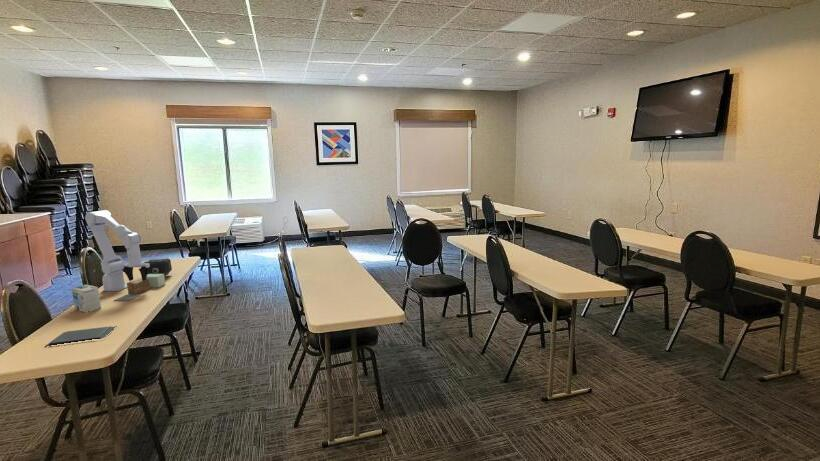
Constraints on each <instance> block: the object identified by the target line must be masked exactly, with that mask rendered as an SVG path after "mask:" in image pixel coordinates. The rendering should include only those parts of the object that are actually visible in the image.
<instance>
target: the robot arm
mask: <svg viewBox="0 0 820 461" xmlns="http://www.w3.org/2000/svg"><path fill="white" fill-rule="evenodd" d="M84 218H85V221H86V224H87V226H88V228H89V229H90V230H91V232H92V235H93V237H94V239H95V242H96V244H97V246H98V248H99V250H100V252H101V254H102V257H103V259H102V260H101V261H100V265H101V271H102V272H103V276H102V278H101V279H102V287H103V290H102V292H103V291H104V292H113V291H114V292H119V291H121V290H124V289H128V288H127V285H126V283H125V277H124V274H125V275H126V277H127V279H128V281H129V282H131V281H133V280H134V268H138V271H139V273H140V275H141V278H142V280H143V281H145V280H146V279H147V273H148V270H149V268H150V264H149V263H144V262H142V257H141V249H140V244H139V243H141V241H142V238H141V235H140V234H139V233H138V232H134V231H131V230H130V229H129V228H128V227H127V226H125V225H123V224H119V223H118V222H117V221H116V220H115V219H114V218H113V217H112V213H111V212H110V211H109V210H107V209H103V210H97V211H88V212H87V213H85V217H84ZM106 226H108V227H110V229H113V231H114V232H113V233H114V234H115V235H116V236H117V237H119V238H120V239H122V240H121V241H122V243H123V245H124V248H125V249H126V254H127V259H128V260H127V262H128V263H127V262H125V261H124V260H123V258H122V256H120V255H117V254H116V253H115V251H114V249H113V247H112V246H113V245H112V244H111V241H110V240H109V238H108V236H107V233H106V231H105V227H106ZM141 267H142V268H141Z"/></svg>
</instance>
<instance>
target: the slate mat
mask: <svg viewBox="0 0 820 461" xmlns="http://www.w3.org/2000/svg"><path fill="white" fill-rule="evenodd" d="M140 296H141V295H140V294H125V295H122V296H121V297H117V298H116V299H114V300H113V302H130V301H132V300H134V299H136V298H138V297H140Z"/></svg>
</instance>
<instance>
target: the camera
mask: <svg viewBox="0 0 820 461" xmlns="http://www.w3.org/2000/svg"><path fill="white" fill-rule="evenodd" d="M171 261H172V260H171V259H170V258H160V259H158V258H157V259H149V260H148V261H147V260H146V261H143V263H149V264H150V268H149V270H148V273H147V275H148V274H164V277H166V276H168V275H169V274H170V272H172V269H173V268H172V262H171ZM140 268H142V267H140Z"/></svg>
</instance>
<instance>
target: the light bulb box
mask: <svg viewBox="0 0 820 461" xmlns="http://www.w3.org/2000/svg"><path fill="white" fill-rule="evenodd" d="M99 292H100V291H99V287H98V286H94V285H90V284H83V285H79V286H75V287H73V288H72V287H71V293H72V297H73V298H72V299H73V304H74V309H75V310H77V311H79V310H81V311H80V312H82V311H84V312H83V313H85V312H87V313H89V312H88V311H90V312H93V311H92V310H94V311H96V310H95V309H97V310H100V309H99V308H101V309H102V304H101V299H100V293H99Z"/></svg>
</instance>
